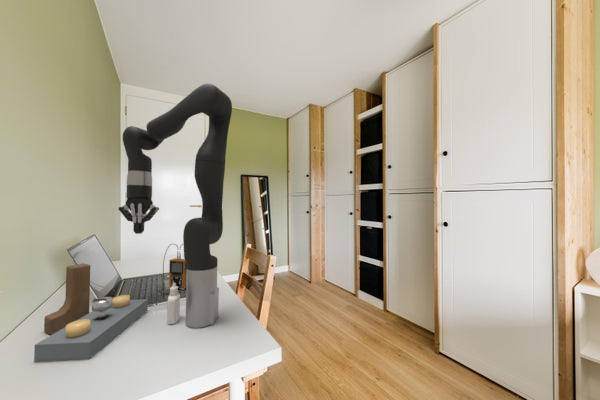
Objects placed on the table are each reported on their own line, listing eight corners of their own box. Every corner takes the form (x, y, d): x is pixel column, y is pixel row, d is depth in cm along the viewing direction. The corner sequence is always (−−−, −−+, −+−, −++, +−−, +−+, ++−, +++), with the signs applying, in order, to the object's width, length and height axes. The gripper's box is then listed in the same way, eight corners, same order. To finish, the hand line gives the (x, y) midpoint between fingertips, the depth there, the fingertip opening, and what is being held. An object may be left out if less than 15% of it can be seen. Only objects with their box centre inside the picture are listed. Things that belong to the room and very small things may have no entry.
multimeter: (148, 295, 97) (149, 246, 98) (165, 286, 107) (166, 242, 108) (180, 297, 95) (181, 247, 95) (195, 289, 105) (196, 243, 105)
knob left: (94, 341, 64) (94, 318, 64) (80, 352, 59) (80, 327, 59) (75, 342, 63) (76, 319, 63) (59, 353, 58) (60, 328, 59)
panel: (147, 310, 83) (147, 299, 83) (89, 359, 57) (89, 342, 57) (110, 312, 82) (110, 300, 82) (34, 361, 56) (34, 344, 56)
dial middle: (115, 317, 72) (116, 295, 72) (104, 324, 67) (105, 301, 68) (99, 317, 72) (100, 296, 72) (87, 325, 67) (88, 302, 67)
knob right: (132, 313, 80) (132, 294, 81) (123, 319, 76) (124, 300, 76) (117, 313, 80) (118, 295, 80) (108, 320, 75) (108, 300, 76)
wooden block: (49, 335, 67) (51, 271, 67) (43, 331, 69) (45, 269, 69) (89, 321, 75) (91, 264, 75) (82, 318, 77) (84, 263, 77)
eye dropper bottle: (185, 317, 78) (186, 281, 79) (172, 325, 73) (173, 286, 73) (174, 315, 79) (175, 279, 80) (160, 324, 74) (161, 285, 74)
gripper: (164, 185, 89) (163, 232, 88) (126, 185, 88) (125, 232, 87) (153, 184, 81) (152, 234, 81) (112, 183, 80) (111, 234, 80)
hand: (138, 233), depth 84 cm, fingers closed
